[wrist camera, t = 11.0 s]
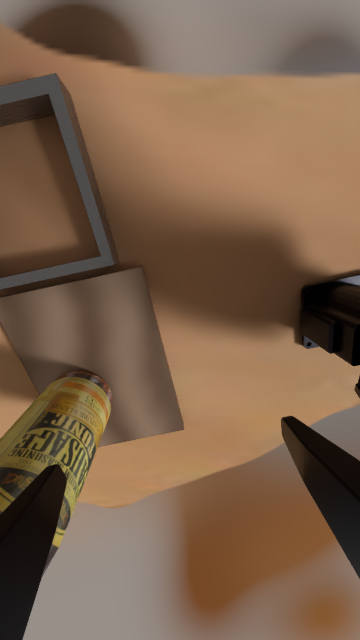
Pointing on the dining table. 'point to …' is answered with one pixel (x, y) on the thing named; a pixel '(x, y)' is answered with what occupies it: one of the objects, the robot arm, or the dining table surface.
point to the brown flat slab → (99, 347)
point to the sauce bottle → (56, 440)
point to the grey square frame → (55, 99)
